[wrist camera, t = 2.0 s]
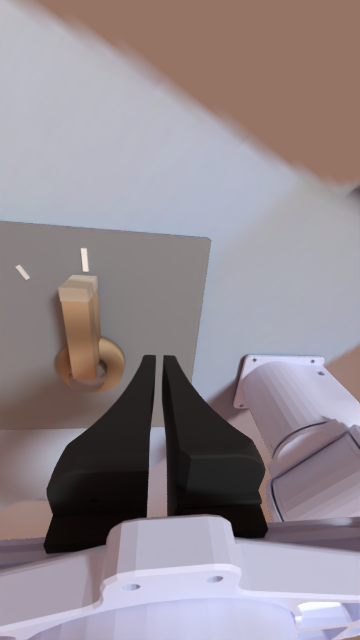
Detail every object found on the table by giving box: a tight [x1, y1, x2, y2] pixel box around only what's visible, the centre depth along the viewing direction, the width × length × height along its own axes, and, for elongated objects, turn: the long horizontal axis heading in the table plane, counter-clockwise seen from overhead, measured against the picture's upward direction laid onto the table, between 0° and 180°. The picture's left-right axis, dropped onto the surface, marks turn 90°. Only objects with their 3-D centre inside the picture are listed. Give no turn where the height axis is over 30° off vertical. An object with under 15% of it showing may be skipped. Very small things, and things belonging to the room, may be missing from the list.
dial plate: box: [0, 221, 211, 429], centre depth 23 cm, size 22×22×2 cm
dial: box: [57, 275, 125, 393], centre depth 20 cm, size 12×6×3 cm, turn 175°
